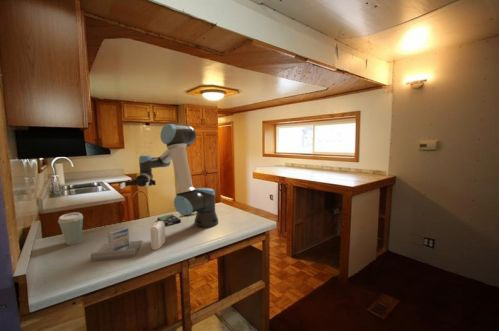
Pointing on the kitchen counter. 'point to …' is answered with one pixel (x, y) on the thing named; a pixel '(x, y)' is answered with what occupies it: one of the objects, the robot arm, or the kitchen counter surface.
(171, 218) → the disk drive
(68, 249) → the kitchen counter surface
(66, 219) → the disposable coffee cup
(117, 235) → the medicine box
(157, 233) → the photo printer
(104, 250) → the dock
